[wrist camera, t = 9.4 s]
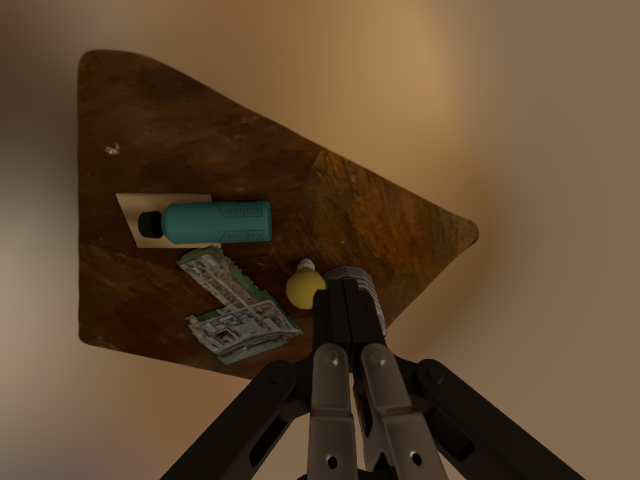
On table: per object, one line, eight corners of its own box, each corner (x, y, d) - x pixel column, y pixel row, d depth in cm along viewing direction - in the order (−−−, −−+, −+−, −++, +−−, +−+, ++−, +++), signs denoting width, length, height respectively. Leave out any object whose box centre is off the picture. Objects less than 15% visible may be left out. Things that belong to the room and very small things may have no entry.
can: (307, 277, 52) (308, 328, 42) (362, 256, 50) (376, 305, 40) (330, 312, 58) (335, 364, 48) (380, 295, 56) (396, 346, 46)
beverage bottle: (277, 194, 38) (130, 196, 36) (278, 240, 37) (128, 244, 36) (280, 205, 44) (155, 207, 43) (281, 244, 44) (154, 248, 42)
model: (220, 237, 45) (217, 242, 44) (303, 331, 61) (303, 337, 60) (127, 281, 50) (122, 287, 48) (227, 358, 66) (225, 364, 64)
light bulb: (330, 264, 50) (335, 304, 42) (304, 282, 53) (304, 323, 44) (307, 243, 47) (307, 281, 39) (280, 262, 50) (275, 303, 41)
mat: (117, 192, 41) (115, 194, 40) (210, 193, 41) (209, 195, 41) (139, 245, 46) (138, 247, 46) (221, 246, 47) (220, 248, 46)
